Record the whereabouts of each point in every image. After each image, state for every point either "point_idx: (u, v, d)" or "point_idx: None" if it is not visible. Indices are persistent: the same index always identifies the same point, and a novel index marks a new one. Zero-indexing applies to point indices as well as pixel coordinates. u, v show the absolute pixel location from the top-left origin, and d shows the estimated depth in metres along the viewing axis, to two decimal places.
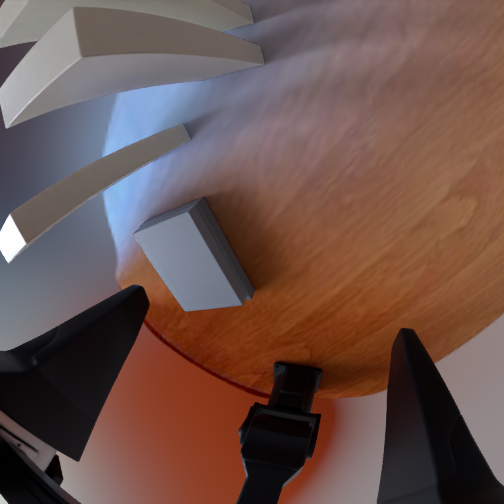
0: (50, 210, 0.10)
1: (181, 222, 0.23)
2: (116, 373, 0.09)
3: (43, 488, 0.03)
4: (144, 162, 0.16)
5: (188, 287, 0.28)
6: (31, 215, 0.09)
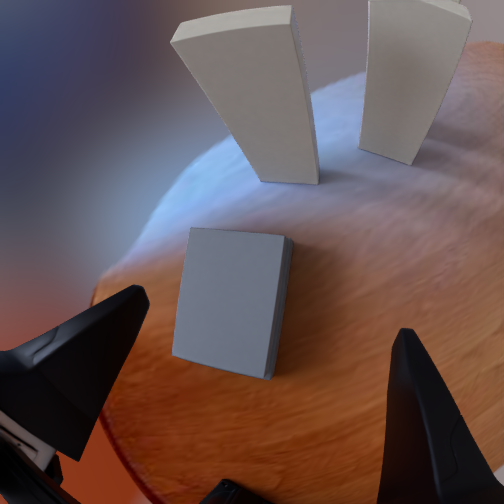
0: (299, 50, 0.09)
1: (267, 243, 0.20)
2: (116, 373, 0.09)
3: (43, 488, 0.03)
4: (313, 145, 0.17)
5: (207, 325, 0.20)
6: (295, 29, 0.08)
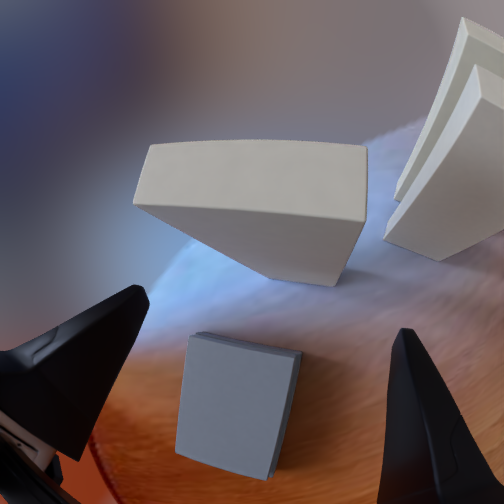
0: None
1: (274, 364, 0.17)
2: (116, 373, 0.09)
3: (43, 488, 0.03)
4: (339, 276, 0.14)
5: (210, 434, 0.17)
6: None
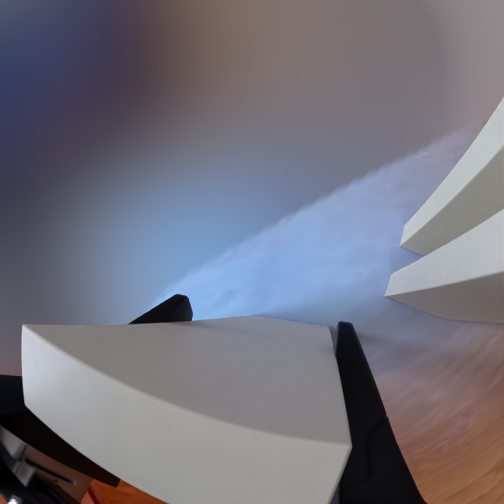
0: None
1: None
2: None
3: (43, 488, 0.03)
4: None
5: None
6: None
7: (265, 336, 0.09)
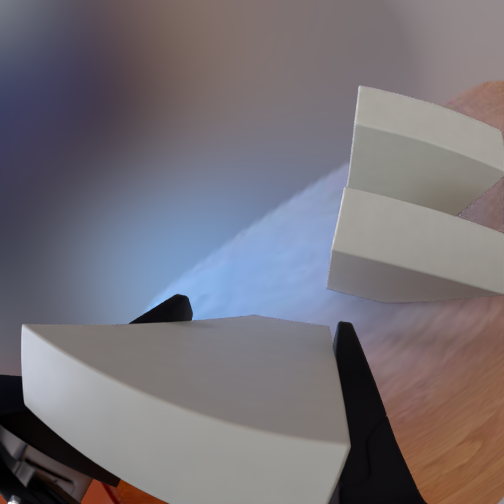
0: None
1: None
2: None
3: (43, 488, 0.03)
4: None
5: None
6: None
7: (265, 336, 0.09)
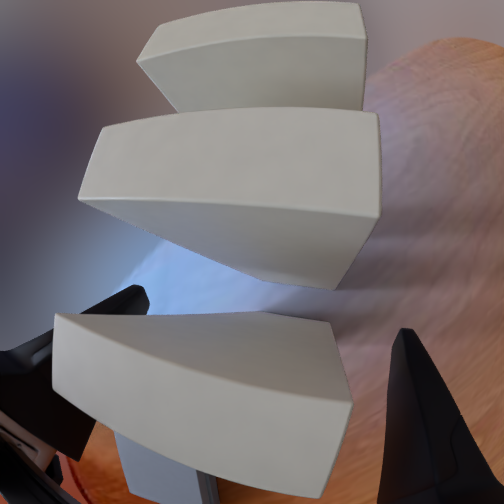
0: None
1: None
2: None
3: (43, 488, 0.03)
4: None
5: (147, 477, 0.16)
6: None
7: (271, 328, 0.10)
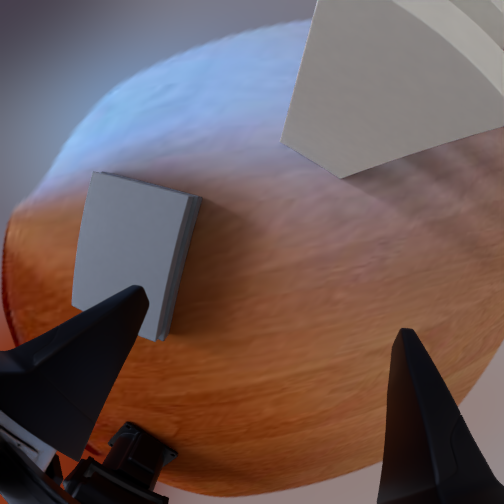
0: None
1: (168, 202, 0.17)
2: (116, 373, 0.09)
3: (43, 488, 0.03)
4: (374, 165, 0.12)
5: (102, 281, 0.18)
6: None
7: None
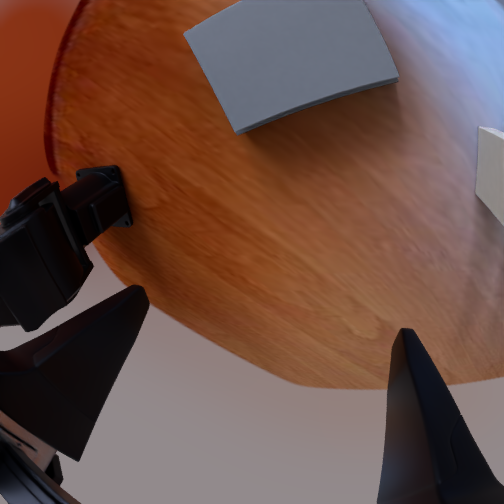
0: None
1: (380, 59, 0.11)
2: (116, 373, 0.09)
3: (43, 488, 0.03)
4: None
5: (244, 43, 0.13)
6: None
7: None
